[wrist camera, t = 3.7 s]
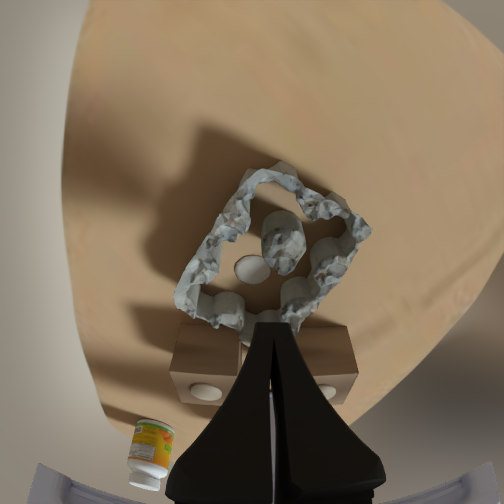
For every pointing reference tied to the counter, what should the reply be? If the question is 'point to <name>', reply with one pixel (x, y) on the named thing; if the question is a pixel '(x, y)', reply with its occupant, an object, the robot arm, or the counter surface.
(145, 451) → the supplement bottle
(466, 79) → the counter surface
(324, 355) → the dotted block
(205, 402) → the dotted block
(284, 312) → the egg carton
